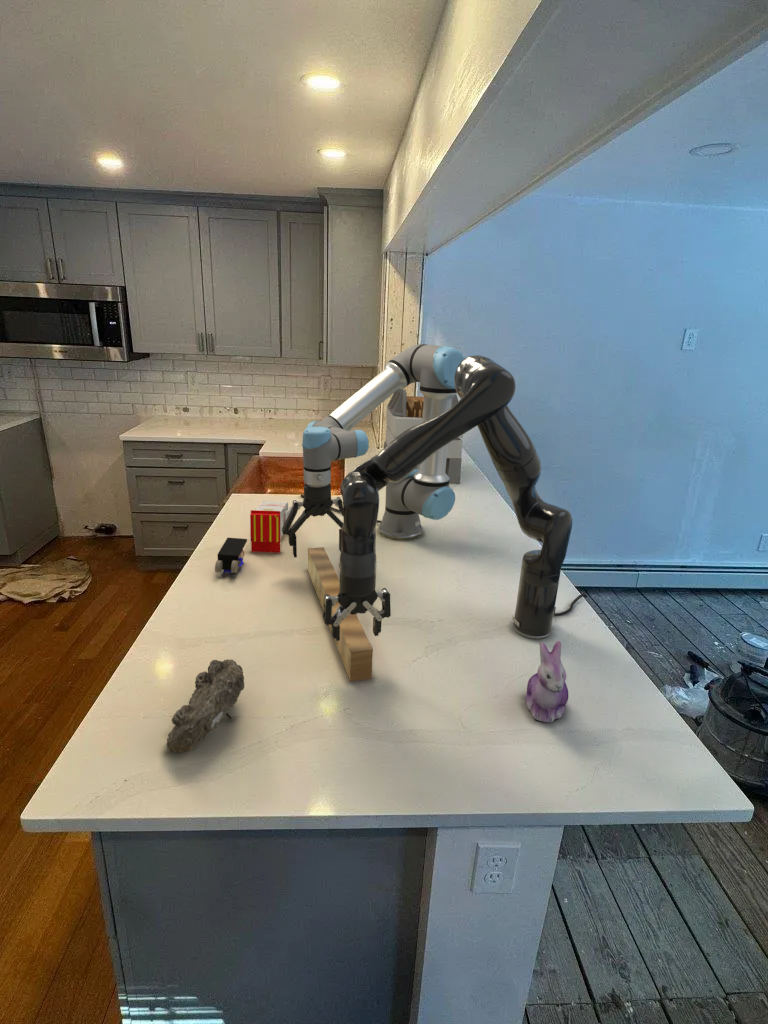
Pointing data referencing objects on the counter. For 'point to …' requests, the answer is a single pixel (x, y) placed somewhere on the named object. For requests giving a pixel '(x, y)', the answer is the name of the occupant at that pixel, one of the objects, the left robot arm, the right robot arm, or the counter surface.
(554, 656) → the figurine
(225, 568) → the figurine character
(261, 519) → the toy
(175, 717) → the fossil
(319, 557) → the beam
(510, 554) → the counter surface
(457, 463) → the transformer
